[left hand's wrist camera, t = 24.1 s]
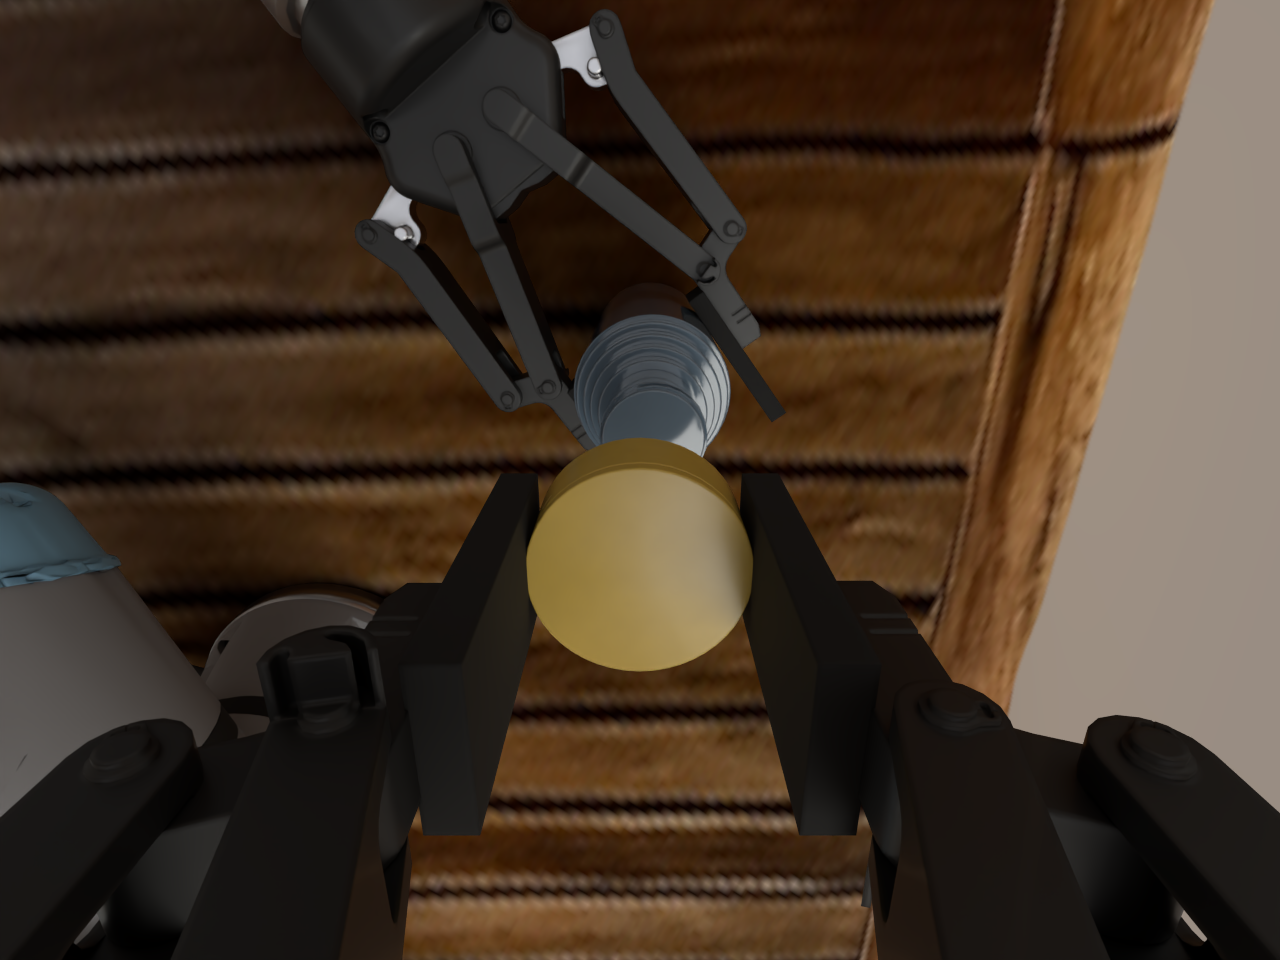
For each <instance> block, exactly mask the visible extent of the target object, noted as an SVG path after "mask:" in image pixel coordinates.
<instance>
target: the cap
mask: <svg viewBox="0 0 1280 960" xmlns="http://www.w3.org/2000/svg"><path fill="white" fill-rule="evenodd" d="M526 563H527V578H528V592H529V597H530V600H531V603H532V605H533V607H534V609H535V612H536V613H537V615H538V617H539V618H540V620H541V622H542V623H543V625H544V626H545V627H546V628H547V629H548V631H549V632H550V633H551V634H552V635H553V636H554V637H555V638H556V639H557V640H558V641H559V642H560V643H561V644H562V645H564V646H565V647H567V648H568V649H569V650H571V651H572V652H574V653H575V654H577V655H579V656H581V657H583V658H584V659H587V660H589V661H591V662H594V663H596V664H599V665H603V666H606V667H609V668H614V669H620V670H628V671H653V670H659V669H666V668H670V667H673V666H677V665H681V664H683V663H686V662H688V661H691V660H693V659H695V658H697V657H699V656H700V655H702V654H704V653H706V652H707V651H709V650H710V649H711V648H713V647H714V646H716V645H717V644H718V643H719V642H720V641H721V640H722V639H724V638H725V637H726V636H727V635H728V633H729V632H730V631H731V630H732V629H733V628H734V626H735V625H736V624H737V622H738V620H739V619H740V617H741V616H742V614H743V612H744V610H745V608H746V606H747V604H748V601H749V598H750V595H751V586H752V572H753V552H752V547H751V544H750V541H749V537H748V534H747V531H746V528H745V525H744V523H743V520H742V517H741V514H740V511H739V508H738V505H737V502H736V499H735V497H734V495H733V493H732V491H731V489H730V487H729V485H728V484H727V482H726V481H725V479H724V478H723V477H722V475H721V474H720V473H719V472H718V471H717V470H716V469H715V468H714V467H713V466H712V465H711V464H710V463H709V462H708V461H706V460H705V459H704V458H702V457H701V456H699V455H698V454H696V453H695V452H693V451H691V450H689V449H687V448H685V447H683V446H680V445H677V444H674V443H671V442H669V441H664V440H659V439H652V438H627V439H621V440H615V441H611V442H608V443H605V444H602V445H599V446H597V447H595V448H592V449H590V450H588V451H586V452H585V453H583V454H582V455H580V456H578V457H577V458H576V459H574V460H573V461H572V462H571V463H570V464H568V465H567V466H566V467H565V468H564V469H563V470H562V471H561V472H560V474H559V475H558V476H557V477H556V479H555V480H554V482H553V483H552V484H551V486H550V488H549V490H548V492H547V494H546V496H545V498H544V501H543V503H542V506H541V509H540V512H539V515H538V518H537V521H536V524H535V527H534V530H533V532H532V535H531V539H530V542H529V545H528V548H527V554H526Z"/></svg>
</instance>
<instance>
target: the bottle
mask: <svg viewBox="0 0 1280 960" xmlns="http://www.w3.org/2000/svg"><path fill="white" fill-rule="evenodd" d="M730 393H731V390H730V379H729V373H728V370H727V367H726V364H725V361H724V359H723V357H722V355H721V353H720V351H719V349H718V347H717V346H716V344H715V342H714V340H713V338H712V336H711V334H710V333H709V331H708V330H707V328H706V327H705V325H704V324H703V322H702V321H701V319H700V318H699V317H698V315H697V314H696V312H695V311H694V309H693V308H692V306H691V305H690V304H689V302H688V300H687V298H686V296H685V295H684V294H683V293H682V292H680V291H679V290H677V289H675V288H673V287H671V286H668V285H665V284H661V283H652V282H648V283H640V284H636V285H633V286H630V287H628V288H626V289H624V290H622V291H621V292H620V293H618V294H617V295H616V296H615V297H614V298H613V299H612V300H611V301H610V302H609V303H608V304H607V306H606V307H605V309H604V311H603V312H602V315H601V317H600V319H599V321H598V323H597V325H596V328H595V330H594V332H593V334H592V336H591V338H590V341H589V343H588V345H587V347H586V349H585V351H584V354H583V356H582V358H581V360H580V363H579V365H578V368H577V371H576V375H575V381H574V402H575V408H576V411H577V415H578V418H579V420H580V422H581V425H582V427H583V428H584V430H585V432H586V433H587V435H588V437H589V438H590V439H591V441H592V442H593V443H594V444H595V445H596V446H599V445H602V444H605V443H608V442H611V441H615V440H621V439H627V438H652V439H659V440H664V441H669V442H671V443H674V444H677V445H680V446H683V447H685V448H687V449H689V450H691V451H693V452H695V453H696V454H698V455H699V456H701V457H703V455H704V453H705V450H706V448H707V447H708V445H709V444H710V443H711V442H712V441H713V440H714V438H715V437H716V435H717V434H718V432H719V430H720V428H721V426H722V424H723V423H724V420H725V418H726V415H727V412H728V408H729V403H730Z"/></svg>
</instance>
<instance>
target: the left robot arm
mask: <svg viewBox="0 0 1280 960" xmlns="http://www.w3.org/2000/svg"><path fill="white" fill-rule="evenodd" d="M539 512H540V508H539V490H538V474H501V475H500V477H499V479H498V481H497V483H496V484H495V486H494V488H493V490H492V492H491V494H490V495H489V497H488V499H487V501H486V503H485V505H484V506H483V508H482V510H481V512H480V514H479V516H478V518H477V519H476V521H475V523H474V525H473V527H472V529H471V530H470V532H469V534H468V536H467V538H466V540H465V541H464V543H463V545H462V547H461V549H460V551H459V552H458V554H457V556H456V558H455V560H454V562H453V564H452V565H451V567H450V569H449V571H448V573H447V575H446V576H445V578H444V580H443V582H442V583H407V584H405V585H404V586H402V587H401V588H400V589H398V590H397V591H395V592H394V593H392V594H391V595H389V596H388V597H387V598H385V599H383V598H381V597H379V596H376V595H374V594H372V593H369V592H366V591H363V590H360V589H356V588H352V587H348V586H343V585H337V584H326V583H310V584H299V585H294V586H289V587H285V588H282V589H278V590H276V591H273V592H271V593H268V594H266V595H264V596H263V597H261V598H259V599H257V600H256V601H254V602H253V603H252V604H250V605H249V606H248V607H247V608H246V609H244V610H243V611H242V612H241V613H240V614H239V615H238V616H237V617H236V618H235V619H234V620H233V621H232V622H231V623H230V624H229V625H228V626H227V627H226V628H225V629H224V630H223V631H222V633H221V634H220V635H219V637H218V638H217V640H216V641H215V643H214V645H213V647H212V649H211V651H210V654H209V657H208V659H207V662H206V665H205V668H202V667H198V666H194V665H191V664H190V662H189V661H188V660H187V658H186V657H185V656H184V654H183V653H182V652H181V651H180V649H179V648H178V647H177V645H176V644H175V643H174V641H173V640H172V639H171V637H170V636H169V635H168V633H167V632H166V631H165V629H164V628H163V627H162V625H161V624H160V623H159V622H158V620H157V619H156V618H155V616H154V615H153V614H152V612H151V611H150V610H149V608H148V607H147V606H146V604H145V603H144V602H143V600H142V599H141V598H140V596H139V595H138V594H137V593H136V591H135V590H134V589H133V587H132V586H131V585H130V583H129V582H128V581H127V579H126V578H125V577H124V575H123V574H122V573H121V571H120V570H119V569H118V567H117V566H121V565H122V564H121V562H120V561H119V559H118V558H117V557H116V556H114V555H110V554H107V553H106V552H105V551H104V550H103V549H102V548H101V547H100V545H99V544H98V543H97V542H96V541H95V540H94V539H93V537H92V536H91V535H90V534H89V533H88V531H87V530H86V529H85V528H84V527H83V526H82V524H81V523H80V522H79V521H78V520H77V519H76V517H75V516H74V515H73V514H72V513H71V511H70V510H69V509H68V508H67V507H66V506H65V504H64V503H63V502H61V501H60V500H59V499H58V498H57V497H56V496H54V495H53V494H51V493H50V492H48V491H46V490H43V489H41V488H38V487H36V486H32V485H28V484H22V483H11V482H9V483H0V960H402V954H403V945H404V935H405V925H406V916H407V906H408V897H409V887H410V878H411V868H412V860H411V853H410V847H409V841H408V833H409V830H410V827H411V825H412V822H413V819H414V817H415V814H416V811H417V809H418V806H419V809H420V816H421V822H422V829H423V835H480V834H481V830H482V826H483V822H484V818H485V814H486V810H487V807H488V803H489V799H490V795H491V791H492V787H493V783H494V780H495V776H496V772H497V768H498V764H499V760H500V756H501V752H502V749H503V745H504V741H505V737H506V733H507V729H508V725H509V722H510V718H511V714H512V710H513V706H514V702H515V698H516V694H517V691H518V687H519V683H520V679H521V675H522V671H523V667H524V664H525V660H526V656H527V652H528V648H529V644H530V640H531V637H532V633H533V629H534V625H535V621H536V617H537V613H536V612H535V609H534V607H533V605H532V603H531V600H530V597H529V592H528V578H527V563H526V554H527V548H528V545H529V542H530V539H531V535H532V532H533V530H534V527H535V524H536V521H537V518H538V515H539ZM740 514H741V517H742V520H743V523H744V525H745V528H746V531H747V534H748V537H749V541H750V544H751V547H752V552H753V572H752V586H751V595H750V598H749V601H748V604H747V606H746V608H745V610H744V612H743V614H742V615H743V619H744V623H745V627H746V630H747V634H748V638H749V642H750V646H751V650H752V654H753V658H754V661H755V665H756V669H757V673H758V677H759V681H760V685H761V688H762V692H763V696H764V700H765V704H766V708H767V712H768V716H769V719H770V723H771V727H772V731H773V735H774V739H775V743H776V746H777V750H778V754H779V758H780V762H781V766H782V770H783V774H784V777H785V781H786V785H787V789H788V793H789V797H790V801H791V804H792V808H793V812H794V816H795V820H796V824H797V828H798V832H799V835H856V833H857V826H858V819H859V813H860V806H861V804H862V807H863V809H864V812H865V815H866V817H867V820H868V823H869V825H870V828H871V830H872V833H873V834H872V841H871V847H870V853H869V859H868V865H867V871H866V878H865V884H864V890H863V897H862V904H861V906H864V907H869V908H870V906H871V900H872V905H873V914H874V924H875V933H876V943H877V952H878V960H1280V813H1279V812H1278V811H1277V810H1276V809H1275V808H1274V807H1272V806H1271V805H1270V804H1269V803H1268V802H1267V801H1266V800H1265V799H1264V798H1262V797H1261V796H1260V795H1259V794H1258V793H1257V792H1256V791H1255V790H1254V789H1253V788H1251V787H1250V786H1249V785H1248V784H1247V783H1246V782H1245V781H1244V780H1243V779H1241V778H1240V777H1239V776H1238V775H1237V774H1236V773H1235V772H1234V771H1233V770H1231V769H1230V768H1229V767H1228V766H1227V765H1226V764H1225V763H1224V762H1223V761H1222V760H1220V759H1219V758H1218V757H1217V756H1216V755H1215V754H1214V753H1212V752H1211V751H1209V750H1208V749H1207V748H1205V747H1204V746H1202V745H1201V744H1200V743H1198V742H1197V741H1196V740H1194V739H1193V738H1191V737H1189V736H1187V735H1185V734H1183V733H1181V732H1179V731H1177V730H1175V729H1172V728H1171V727H1169V726H1167V725H1164V724H1161V723H1158V722H1153V721H1151V720H1147V719H1143V718H1139V717H1130V716H1121V715H1114V716H1108V717H1102V718H1098V719H1097V720H1095V721H1094V722H1093V723H1092V724H1091V725H1090V726H1088V729H1087V732H1086V736H1085V739H1084V743H1083V744H1079V743H1075V742H1070V741H1065V740H1061V739H1056V738H1051V737H1047V736H1042V735H1037V734H1032V733H1029V732H1025V731H1022V730H1019V729H1015V728H1013V726H1012V724H1011V721H1010V720H1009V718H1008V717H1007V715H1006V714H1005V713H1004V711H1003V710H1002V708H1001V707H1000V706H999V705H997V704H996V703H995V702H993V701H992V700H991V699H990V698H988V697H987V696H986V695H984V694H983V693H980V692H978V691H976V690H974V689H972V688H969V687H967V686H965V685H963V684H959V683H954V682H953V681H952V680H951V678H950V677H949V675H948V674H947V673H946V671H945V670H944V668H943V667H942V665H941V664H940V662H939V661H938V659H937V658H936V656H935V655H934V653H933V652H932V650H931V649H930V647H929V646H928V644H927V643H926V641H925V640H924V639H923V637H922V636H921V634H918V630H917V628H916V627H915V625H914V624H913V622H912V621H911V619H910V618H908V617H907V613H906V612H905V610H904V609H903V607H902V606H901V605H900V603H899V602H898V600H897V599H896V597H895V596H894V595H892V594H891V593H889V592H888V591H886V590H885V589H883V588H882V587H881V586H879V585H878V584H876V583H875V582H873V581H836V579H835V577H834V575H833V574H832V572H831V570H830V568H829V566H828V564H827V563H826V561H825V559H824V557H823V555H822V553H821V552H820V550H819V548H818V546H817V544H816V542H815V540H814V539H813V537H812V535H811V533H810V531H809V529H808V528H807V526H806V524H805V522H804V520H803V518H802V517H801V515H800V513H799V511H798V509H797V507H796V506H795V504H794V502H793V500H792V498H791V496H790V494H789V493H788V491H787V489H786V487H785V485H784V483H783V482H782V480H781V478H780V476H779V474H742V482H741V500H740ZM1183 910H1185V912H1186V913H1187V914H1188V915H1189V917H1190V918H1191V919H1192V920H1193V921H1194V923H1195V924H1196V925H1197V926H1198V928H1199V929H1200V930H1201V931H1202V933H1203V934H1204V935H1205V936H1206V937H1207V940H1206V941H1205V942H1204V941H1202V940H1201V939H1200V938H1199V937H1198V936H1197V935H1196V934H1195V933H1194V932H1193V931H1192V930H1191V928H1190V927H1189V926H1188V925H1187V923H1186V922H1185V921H1184V920H1183V918H1182V917H1181V915H1182V913H1183Z"/></svg>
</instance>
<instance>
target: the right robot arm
mask: <svg viewBox="0 0 1280 960" xmlns="http://www.w3.org/2000/svg"><path fill="white" fill-rule="evenodd" d="M261 1H262V3H263V4H264V5H265V7H266V8H267V9H268V11H269V12H270V13H271V14H272V16H273V17H274V18H275V20H276V21H277V22H278V23H279V25H280V26H281V27H282V29H283V30H285V31H286V32H287V33H289V34H290V35H291V36H294V37H297V38H300V39H301V45H302V50H303V53H304V55H305V57H306V58H307V60H308V61H309V62H310V63H311V65H312V66H313V67H314V68H315V70H316V71H317V72H318V73H319V75H320V76H321V77H322V79H323V80H324V81H325V82H326V84H327V85H328V86H329V87H330V89H331V90H332V91H333V92H334V94H335V95H336V96H337V98H338V99H339V100H340V101H341V103H342V104H343V105H344V106H345V108H346V109H347V110H348V112H349V113H350V114H351V115H352V117H353V118H354V119H355V120H356V122H357V123H358V124H359V125H360V127H361V128H362V129H363V131H364V132H365V133H366V134H367V136H368V137H369V138H370V139H371V140H372V142H373V143H374V144H375V146H376V147H377V149H378V151H379V153H380V155H381V158H382V161H383V164H384V168H385V173H386V176H387V179H388V181H389V183H390V184H391V186H390V188H389V189H388V191H387V193H386V195H385V196H384V198H383V200H382V202H381V203H380V205H379V207H378V209H377V210H376V212H375V214H374V216H373V217H372V219H365V220H363V221H360V222H359V223H358V224H357V226H356V229H355V238H356V240H357V242H358V243H359V244H360V245H361V246H362V247H363V248H364V249H365V250H367V251H368V252H370V253H371V254H372V255H374V256H375V257H377V258H378V259H379V260H381V261H382V262H384V263H385V264H386V265H388V266H389V267H390V268H392V269H393V270H395V271H396V272H397V273H398V274H399V275H400V277H401V278H402V279H403V281H404V282H405V283H406V285H407V286H408V287H409V289H410V290H411V291H412V293H413V294H414V295H415V297H416V298H417V299H418V301H419V302H420V303H421V305H422V306H423V307H424V309H425V310H426V311H427V313H428V314H429V316H430V317H431V318H432V320H433V321H434V322H435V324H436V325H437V326H438V328H439V329H440V330H441V332H442V333H443V334H444V336H445V337H446V338H447V340H448V341H449V342H450V344H451V345H452V346H453V348H454V349H455V350H456V352H457V353H458V355H459V356H460V357H461V359H462V360H463V361H464V363H465V364H466V365H467V367H468V368H469V369H470V371H471V372H472V373H473V375H474V376H475V377H476V379H477V380H478V381H479V383H480V384H481V385H482V387H483V388H484V389H485V391H486V392H487V394H488V395H489V396H490V398H491V399H492V400H493V402H494V403H495V404H496V406H497V407H498V408H499V409H500V410H502V411H505V412H512V411H515V410H516V409H517V408H519V407H522V406H526V405H529V404H532V403H544V404H546V405H548V406H550V407H551V408H552V409H553V410H554V412H555V413H556V414H557V415H558V417H559V418H560V419H561V420H562V422H563V423H564V424H565V425H566V427H567V428H568V429H569V430H570V431H571V432H572V434H573V435H574V436H575V438H576V439H577V440H578V441H579V443H580V444H581V445H582V446H583V448H584V449H586V450H590V449H592V448H595V447H597V446H596V445H595V444H594V443H593V442H592V441H591V439H590V438H589V437H588V435H587V433H586V432H585V430H584V428H583V427H582V425H581V422H580V420H579V418H578V415H577V411H576V408H575V402H574V381H575V378H574V379H573V381H571V380H570V378H569V377H568V376H569V369H568V368H567V369H565V366H564V364H563V361H562V358H561V356H560V353H559V351H558V348H557V346H556V343H555V341H554V338H553V336H552V333H551V330H550V328H549V325H548V323H547V320H546V318H545V315H544V313H543V310H542V307H541V305H540V302H539V300H538V297H537V295H536V292H535V290H534V287H533V284H532V282H531V279H530V277H529V274H528V272H527V269H526V267H525V264H524V262H523V259H522V256H521V254H520V251H519V249H518V246H517V243H516V238H515V234H514V231H513V228H512V225H511V223H510V220H509V218H508V216H509V215H511V214H512V213H513V212H514V211H515V210H517V209H518V208H519V207H520V205H521V204H522V202H523V201H524V199H525V198H526V196H527V195H528V193H529V192H530V191H533V190H535V189H537V188H539V187H542V186H544V185H546V184H548V183H549V182H550V181H551V180H553V179H554V178H555V177H556V176H557V175H558V174H559V175H560V176H561V177H563V178H564V179H565V180H566V181H568V182H569V183H570V184H572V185H573V186H575V187H576V188H577V189H578V190H580V191H581V192H582V193H584V194H585V195H586V196H587V197H589V198H590V199H591V200H593V201H594V202H595V203H596V204H598V205H599V206H600V207H601V208H603V209H604V210H605V211H607V212H608V213H609V214H610V215H612V216H613V217H614V218H615V219H617V220H618V221H619V222H621V223H622V224H623V225H624V226H626V227H627V228H628V229H630V230H631V231H632V232H633V233H635V234H636V235H637V236H638V237H640V238H641V239H642V240H644V241H645V242H646V243H647V244H649V245H650V246H651V247H653V248H654V249H655V250H656V251H658V252H659V253H660V254H661V255H663V256H664V257H665V258H667V259H668V260H669V261H670V262H672V263H673V264H674V265H676V266H677V267H678V268H679V269H681V270H682V271H683V272H684V273H686V274H687V275H688V276H690V277H691V278H692V279H693V280H694V281H695V282H696V284H697V285H698V286H697V287H696V288H695V289H693V290H692V291H691V292H689V293H688V294H687V295H685V296H686V298H687V300H688V302H689V304H690V305H691V306H692V308H693V309H694V311H695V312H696V314H697V315H698V317H699V318H700V319H701V321H702V322H703V324H704V325H705V327H706V328H707V330H708V331H709V332H710V334H711V335H712V337H713V338H714V340H715V341H716V343H717V344H718V345H719V347H720V348H721V350H722V351H723V353H724V354H725V355H726V357H727V358H728V360H729V361H730V363H731V364H732V366H733V367H734V368H735V370H736V371H737V373H738V374H739V376H740V377H741V379H742V380H743V381H744V383H745V384H746V386H747V387H748V389H749V390H750V391H751V393H752V394H753V396H754V397H755V399H756V400H757V402H758V403H759V404H760V406H761V407H762V409H763V410H764V412H765V413H766V415H767V416H768V417H769V419H770V420H771V422H773V421H774V420H776V419H777V418H779V417H780V416H782V415H783V414H785V413H786V412H785V410H784V409H783V407H782V406H781V404H780V403H779V402H778V400H777V399H776V397H775V396H774V394H773V393H772V391H771V390H770V388H769V387H768V385H767V384H766V383H765V381H764V380H763V378H762V377H761V375H760V374H759V372H758V371H757V369H756V368H755V366H754V365H753V363H752V362H751V361H750V359H749V358H748V356H747V355H746V353H745V352H744V350H743V348H744V347H746V346H747V345H749V344H750V343H751V342H753V341H754V340H756V339H757V338H758V337H760V336H761V335H760V330H759V325H758V323H757V321H756V320H755V318H754V317H753V315H752V314H751V312H750V311H749V309H748V308H747V306H746V305H745V303H744V302H743V300H742V299H741V297H740V296H739V294H738V293H737V291H736V290H735V288H734V287H733V285H732V284H731V282H730V281H729V279H728V277H727V275H726V262H727V260H728V258H729V256H730V255H731V253H732V252H733V250H734V249H735V247H736V246H737V244H738V243H739V242H740V241H741V240H742V239H743V238H744V236H745V234H746V231H747V228H746V222H745V220H744V218H743V217H742V216H741V214H740V213H739V212H738V210H737V209H736V207H735V206H734V205H733V203H732V202H731V201H730V199H729V198H728V196H727V195H726V194H725V192H724V191H723V190H722V188H721V187H720V185H719V184H718V183H717V181H716V180H715V179H714V177H713V176H712V174H711V173H710V172H709V170H708V169H707V168H706V166H705V165H704V164H703V162H702V161H701V159H700V158H699V157H698V155H697V154H696V153H695V151H694V150H693V148H692V147H691V146H690V144H689V143H688V142H687V140H686V139H685V137H684V136H683V135H682V133H681V132H680V131H679V129H678V128H677V126H676V125H675V124H674V122H673V121H672V120H671V118H670V117H669V115H668V114H667V113H666V111H665V110H664V109H663V107H662V106H661V105H660V103H659V102H658V100H657V99H656V98H655V96H654V95H653V94H652V92H651V91H650V89H649V88H648V87H647V85H646V84H645V83H644V81H643V80H642V78H641V77H640V76H639V74H638V73H637V72H636V70H635V67H634V64H633V61H632V58H631V54H630V51H629V48H628V45H627V42H626V39H625V35H624V32H623V29H622V26H621V23H620V20H619V18H618V17H617V15H616V14H615V13H614V12H612V11H611V10H607V9H603V10H599V11H597V12H596V13H595V14H594V15H593V16H592V18H591V20H590V24H589V26H587V27H585V28H582V29H580V30H578V31H575V32H573V33H571V34H569V35H566V36H564V37H562V38H559V39H557V40H555V41H552V42H551V41H550V40H549V39H548V38H547V37H546V36H545V35H543V34H541V33H539V32H537V31H535V30H533V29H532V28H530V27H529V26H527V25H526V24H525V23H524V22H523V21H522V20H521V19H520V18H519V17H518V15H517V14H516V13H515V11H514V10H513V8H512V7H511V5H510V4H509V2H508V1H507V0H261ZM568 72H572V73H576V74H578V75H579V76H580V77H582V79H583V80H584V82H585V83H586V85H587V86H588V87H589V88H590V89H592V90H594V91H601V90H604V89H607V88H608V89H609V92H610V94H611V96H612V98H613V100H614V102H615V104H616V105H617V107H618V108H619V110H620V111H621V113H622V114H623V115H624V117H625V118H626V119H627V121H628V122H629V123H630V125H631V126H632V127H633V129H634V130H635V131H636V133H637V134H638V135H639V137H640V138H641V139H642V141H643V142H644V143H645V145H646V146H647V147H648V149H649V150H650V151H651V153H652V154H653V155H654V157H655V158H656V159H657V161H658V162H659V163H660V165H661V166H662V167H663V169H664V170H665V171H666V173H667V174H668V175H669V177H670V178H671V179H672V181H673V182H674V183H675V185H676V186H677V187H678V189H679V190H680V191H681V193H682V194H683V195H684V197H685V198H686V199H687V201H688V202H689V203H690V205H691V206H692V207H693V209H694V210H695V211H696V213H697V214H698V215H699V217H700V218H701V219H702V221H703V222H704V223H705V225H706V226H707V227H708V229H709V231H708V233H707V234H706V236H705V237H704V239H703V240H702V242H701V243H700V245H698V244H697V243H695V242H694V241H693V240H692V239H690V238H689V237H688V236H687V235H685V234H684V233H683V232H681V231H680V230H679V229H678V228H676V227H675V226H674V225H673V224H671V223H670V222H669V221H668V220H666V219H665V218H664V217H663V216H661V215H660V214H659V213H658V212H656V211H655V210H654V209H653V208H651V207H650V206H649V205H648V204H646V203H645V202H644V201H643V200H641V199H640V198H639V197H638V196H636V195H635V194H634V193H633V192H631V191H630V190H629V189H628V188H626V187H625V186H624V185H623V184H621V183H620V182H619V181H618V180H616V179H615V178H614V177H613V176H611V175H610V174H609V173H608V172H606V171H605V170H604V169H603V168H601V167H600V166H599V165H598V164H596V163H595V162H594V161H593V160H591V159H590V158H589V157H588V156H586V155H585V154H584V153H583V152H581V151H580V150H579V149H578V148H576V147H575V146H574V145H573V144H571V143H570V142H569V141H568V140H566V121H565V97H564V73H568ZM418 202H420V203H423V204H426V205H429V206H432V207H435V208H438V209H441V210H444V211H447V212H450V213H453V214H456V215H459V216H460V217H461V220H462V222H463V225H464V227H465V229H466V232H467V234H468V237H469V239H470V241H471V244H472V246H473V247H474V249H475V250H476V252H477V253H478V254H479V256H480V258H481V261H482V263H483V265H484V268H485V270H486V273H487V275H488V278H489V280H490V282H491V285H492V287H493V290H494V292H495V295H496V297H497V299H498V302H499V304H500V307H501V309H502V312H503V314H504V316H505V319H506V321H507V324H508V326H509V328H510V331H511V333H512V336H513V338H514V341H515V343H516V345H517V348H518V350H519V353H520V355H521V358H522V360H523V362H524V365H525V367H526V370H527V372H526V373H522V372H521V371H520V369H519V368H518V366H517V365H516V364H515V362H514V361H513V359H512V358H511V357H510V355H509V354H508V352H507V351H506V350H505V348H504V347H503V345H502V344H501V343H500V341H499V340H498V339H497V337H496V336H495V334H494V333H493V332H492V330H491V329H490V327H489V326H488V325H487V323H486V322H485V320H484V319H483V318H482V316H481V315H480V313H479V312H478V311H477V309H476V308H475V306H474V305H473V304H472V302H471V301H470V299H469V298H468V297H467V295H466V294H465V293H464V291H463V290H462V288H461V287H460V286H459V284H458V283H457V281H456V280H455V279H454V277H453V276H452V274H451V273H450V272H449V270H448V269H447V267H446V266H445V265H444V263H443V262H442V261H441V259H440V258H439V257H438V256H437V254H436V253H435V252H434V251H433V250H432V249H431V248H430V247H429V246H428V245H426V244H425V241H426V239H427V231H426V228H425V226H424V225H423V224H422V222H421V221H420V220H419V218H418V216H417V213H416V205H417V203H418Z"/></svg>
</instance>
